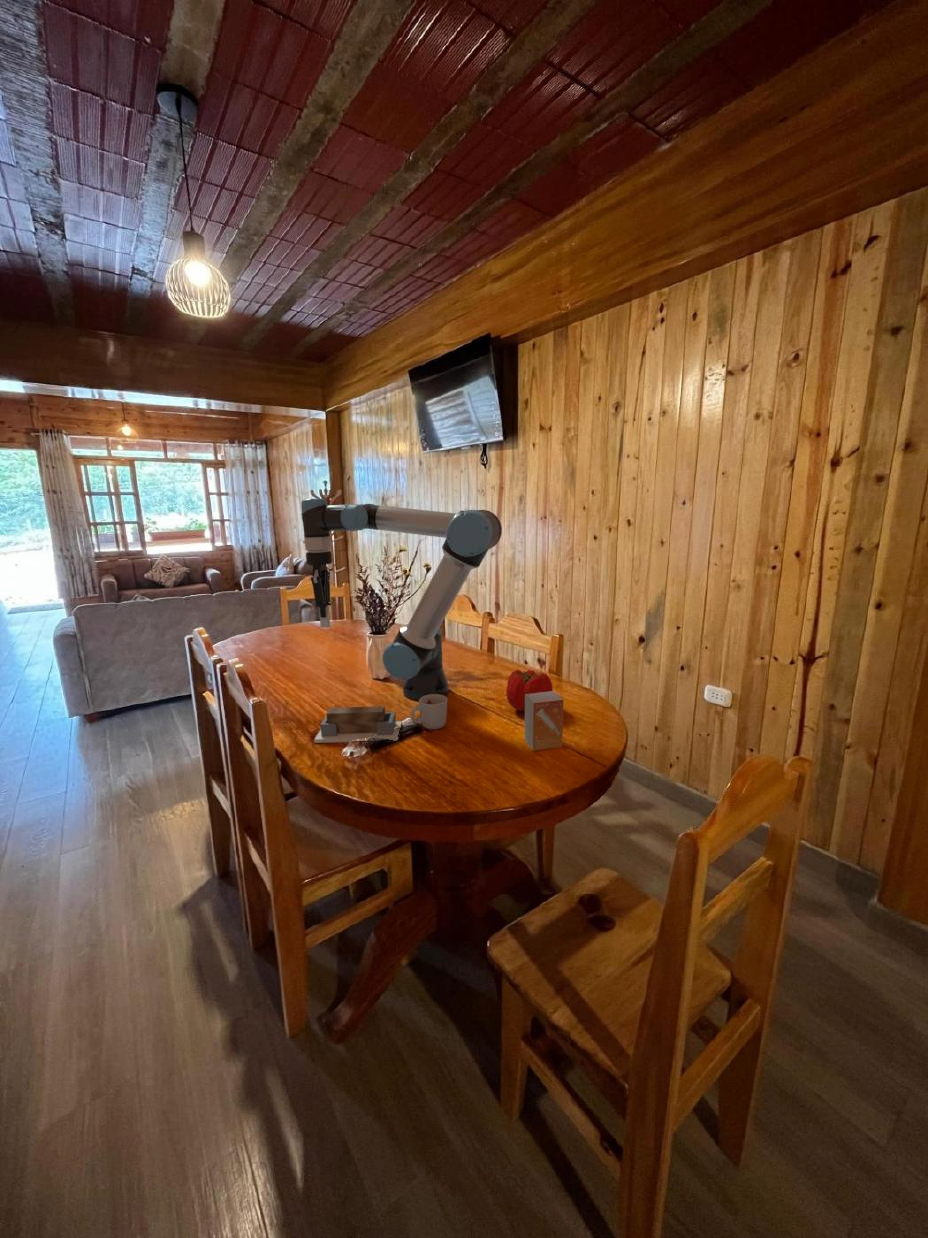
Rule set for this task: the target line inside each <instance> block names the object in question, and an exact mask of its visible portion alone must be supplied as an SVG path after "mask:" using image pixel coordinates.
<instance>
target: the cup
mask: <svg viewBox="0 0 928 1238" xmlns="http://www.w3.org/2000/svg"><path fill="white" fill-rule="evenodd" d="M417 711H419V717H418V718H415V713H416V712H417ZM447 714H448V697H447V696H446V695H444V696H443V695H439V694H430V695H425V696H423V697H421V698H420V699H419V700H418V705H416V706H414V707H412V709H410V719H411V721H412V722H413V723H415V724H418V723H422V725H423V727H424V728H426V729H428V730H438V729H442V728H443V727H444V726H445V725H446V722H447Z"/></svg>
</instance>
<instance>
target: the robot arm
mask: <svg viewBox="0 0 928 1238" xmlns="http://www.w3.org/2000/svg"><path fill="white" fill-rule="evenodd" d="M300 503H301V507H300V508H301V520H302V526H303V536H304V538H303V539H304V540H303V541H302V543H303V544H304V549H305V551H307V552H306V553H305V560H306V564H307V565H308V566H312V572H311V573H312V574H311V575H312V576H310V581H311V585H312V589H313V594H314V601H315V608H318V614H319V625H320V628H330V627H331V617H330V606H332V602H331V581H330V579H331V578H330V577H331V572H330V571H329V569H328V567H327V565H331V564H332V563H333V555H332V551H330V550H331V549H332V544H331V543H332V542H331V533H330V532H336V531H337V532H346V531H347V532H358V531H362V530H376V531H379V530H380V531H386V532H393V533H394V532H395V533H402V534H409V535H410V534H412V535H418V536H419V535H420V536H426V537H427V536H428V537H436V538H445V540H444V542H443V544H442V546H441V549H442V552H443V556H442V559H441V560H440V562H439V564H438V566H437V568H436V570H435V572H434V574H433V576H432V577H431V579H430V581H429V583H428V585H427V587H426V589H425V591H424V593H423V595H422V597H421V599H420V600H419V602H418V604H417V606H416V608H415V610H414V612H413V614H412V615H411V618H410V619H409V622H408V623H407V624H403V625H401V626H400V628H399V630H398V632H397V633H396V636H395V638H394V639H393V641H392V642H391V643H390V644H388V645H387V646H386V648H385V649H384V651H383V653H382V658H381V659H382V663H383V666H384V669H385V670H386V672H387V673H388V674H389V675H390V676H391V677H392V678H395V679H397V680H401V681H404V683H403V686H402V693H403V696H404V697H406V698H408V699H411V700H416V701H419V699H420V698H421V697H423V696H425V695H430V694H439V695H443V696H446V695H447V694H448V693H449V691H450V689H449V682H448V679H447V677H446V674H445V671H444V669H443V668H444V667H443V641H442V636H443V634H442V630H441V629H442V628H441V626H442V624H443V622H444V620H445V619H446V616H447V615H448V613H449V611H450V609H451V607H452V605H453V603H454V602H455V600H456V598H457V596H458V594H459V593H460V591H461V589H462V587H463V586H464V584H465V582H466V579H468V576H469V574H470V573H471V571H472V570H474V569H478V568H479V567H480V566H481V564H482V562H483V560H484V558H485V557H486V555H487V553H488V551H489V550H490V549H493V548H494V547H495V546H496V545H498V544H499V541H500V539H501V538H502V534H503V528H502V523H501V521H500V519H499V517H498V515H496V514H495V513H493V512H492V511H490V510H488V509H487V510H486V509H477V510H476V509H468V510H460V511H458V512H457V513H456V512H455V513H454V512H449V511H448V512H447V511H438V510H437V511H436V510H428V509H427V510H425V509H419V508H418V509H416V508H415V509H414V508H408V507H407V508H406V507H398V506H385V505H376V504H374V503H363V504H359V503H358V504H357V503H349V504H333V505H332V504H328V501H327V499H325V498H304V499H302V500H301V502H300Z"/></svg>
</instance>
